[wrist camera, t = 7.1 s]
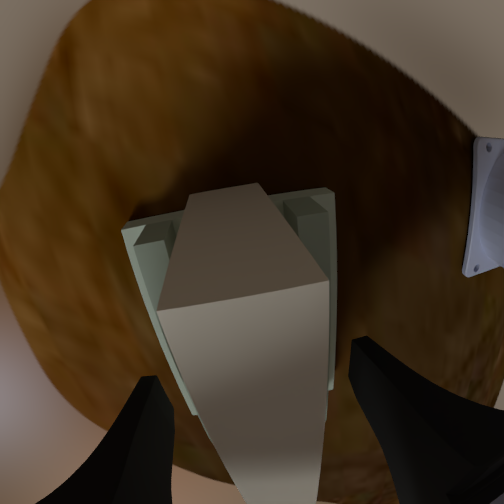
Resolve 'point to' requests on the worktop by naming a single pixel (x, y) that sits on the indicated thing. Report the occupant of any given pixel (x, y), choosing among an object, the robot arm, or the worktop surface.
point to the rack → (295, 213)
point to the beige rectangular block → (251, 340)
